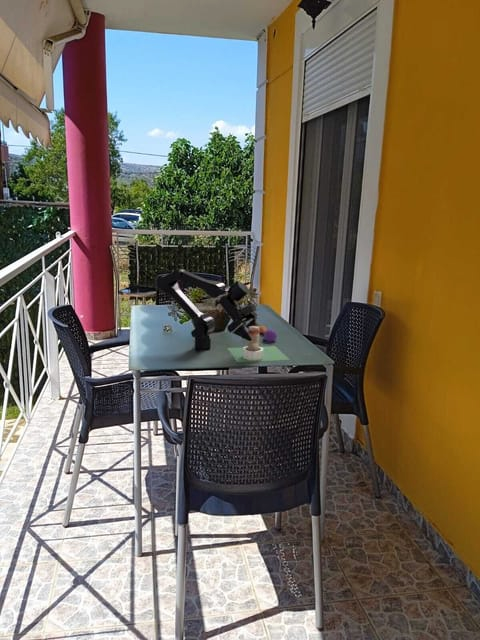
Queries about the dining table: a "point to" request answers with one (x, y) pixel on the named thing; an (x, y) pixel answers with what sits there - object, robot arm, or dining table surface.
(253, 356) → the cup
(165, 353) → the dining table surface
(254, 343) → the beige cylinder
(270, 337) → the purple faceted ball
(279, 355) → the putting mat
